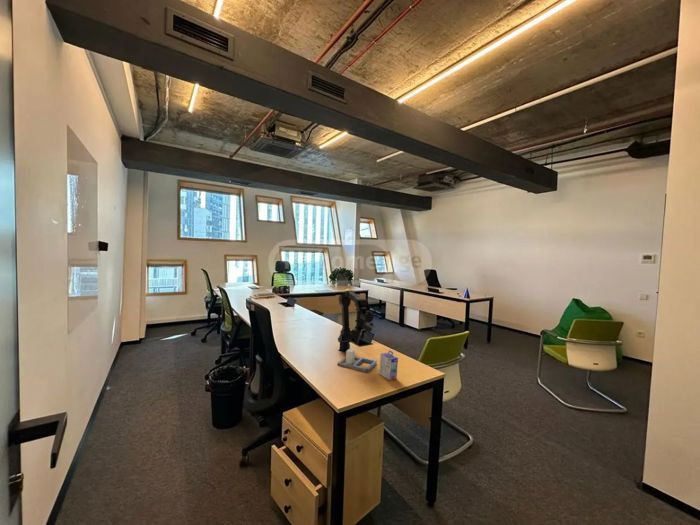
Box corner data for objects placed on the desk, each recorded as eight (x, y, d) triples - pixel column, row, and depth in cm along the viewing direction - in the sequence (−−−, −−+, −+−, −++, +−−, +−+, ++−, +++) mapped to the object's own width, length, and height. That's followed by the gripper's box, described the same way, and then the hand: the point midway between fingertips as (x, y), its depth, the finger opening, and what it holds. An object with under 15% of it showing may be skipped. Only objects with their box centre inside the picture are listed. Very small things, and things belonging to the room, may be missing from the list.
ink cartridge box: (397, 378, 165) (398, 353, 164) (389, 380, 162) (391, 355, 161) (386, 372, 173) (387, 348, 172) (378, 374, 170) (380, 349, 169)
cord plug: (345, 363, 183) (346, 350, 183) (348, 361, 187) (349, 348, 186) (351, 364, 181) (352, 352, 181) (354, 362, 185) (354, 350, 185)
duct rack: (337, 365, 179) (337, 361, 179) (348, 357, 193) (348, 354, 193) (367, 372, 171) (367, 369, 171) (376, 363, 185) (376, 360, 184)
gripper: (368, 323, 173) (366, 349, 174) (377, 317, 191) (376, 340, 191) (350, 321, 178) (349, 346, 179) (361, 315, 195) (360, 337, 196)
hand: (359, 342), depth 186 cm, fingers open, 9 cm apart
